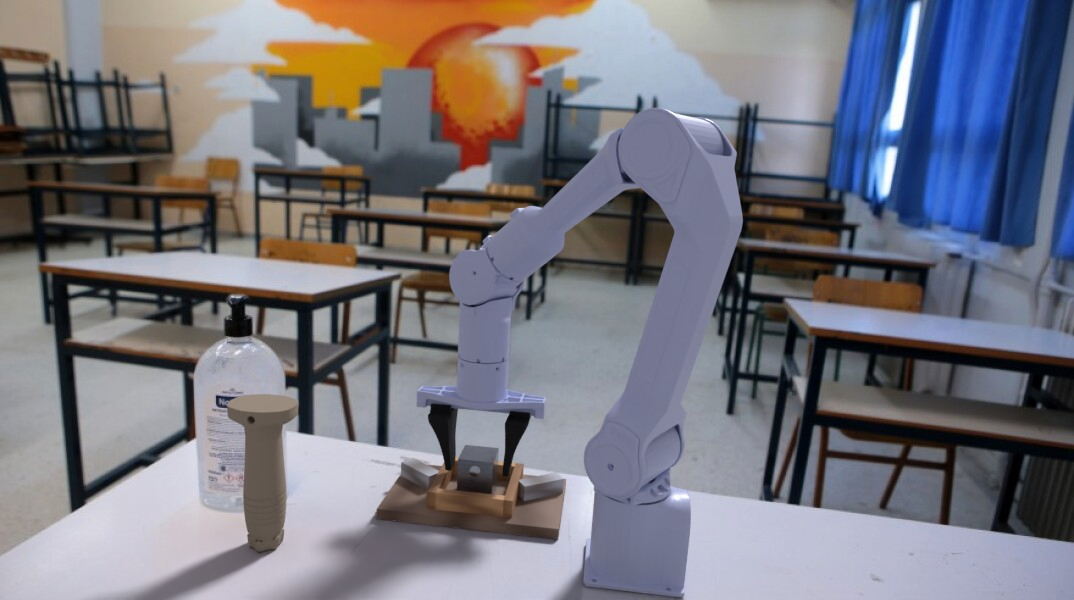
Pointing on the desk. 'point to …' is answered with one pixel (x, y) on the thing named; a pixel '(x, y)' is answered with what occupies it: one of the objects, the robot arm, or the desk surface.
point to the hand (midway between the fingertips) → (478, 469)
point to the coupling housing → (476, 501)
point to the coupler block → (478, 469)
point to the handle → (264, 464)
